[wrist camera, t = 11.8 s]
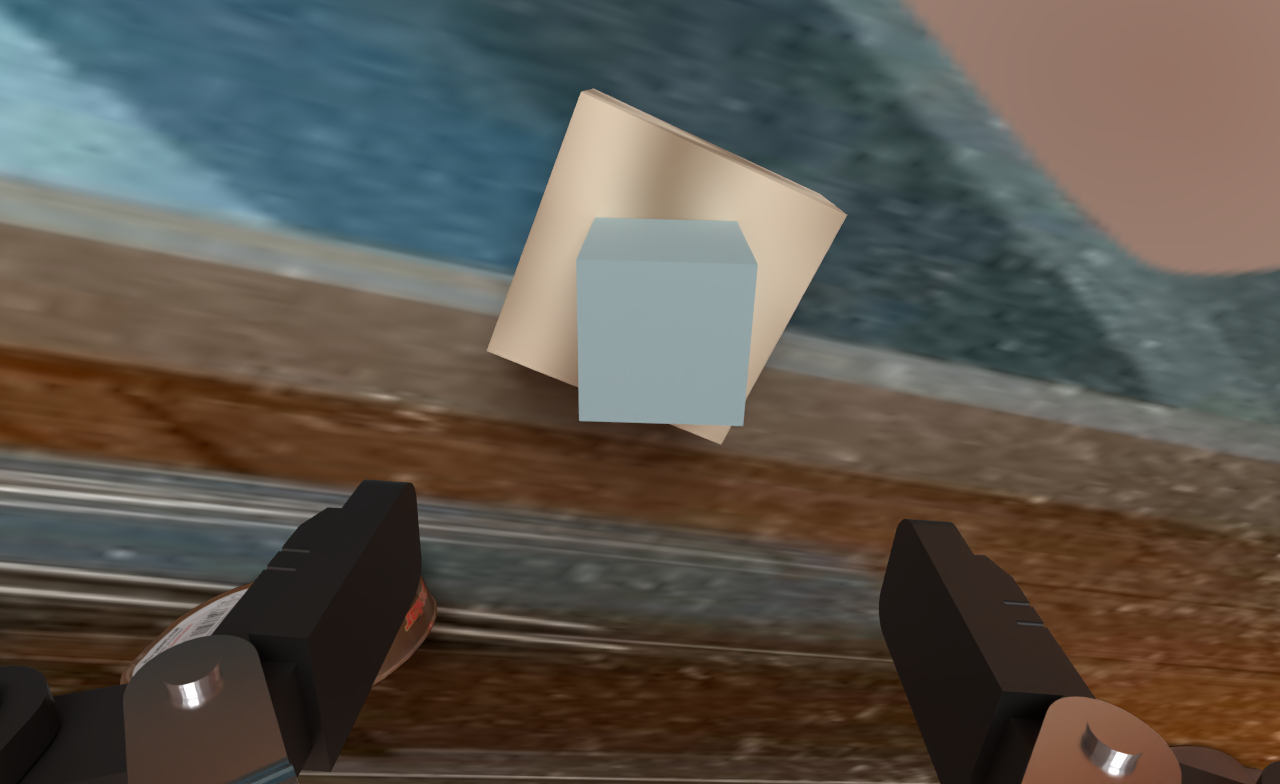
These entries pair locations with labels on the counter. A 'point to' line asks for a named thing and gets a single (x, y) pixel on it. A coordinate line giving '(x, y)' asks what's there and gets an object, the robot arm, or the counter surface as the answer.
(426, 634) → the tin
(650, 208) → the birch block
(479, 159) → the counter surface
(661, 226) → the blue-gray block
